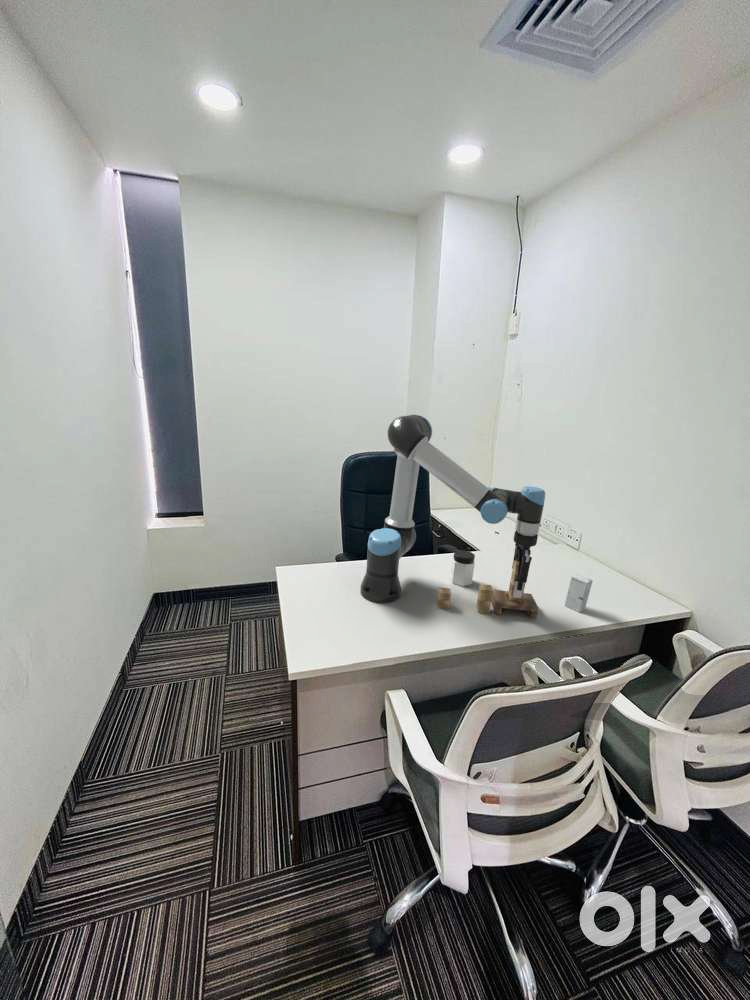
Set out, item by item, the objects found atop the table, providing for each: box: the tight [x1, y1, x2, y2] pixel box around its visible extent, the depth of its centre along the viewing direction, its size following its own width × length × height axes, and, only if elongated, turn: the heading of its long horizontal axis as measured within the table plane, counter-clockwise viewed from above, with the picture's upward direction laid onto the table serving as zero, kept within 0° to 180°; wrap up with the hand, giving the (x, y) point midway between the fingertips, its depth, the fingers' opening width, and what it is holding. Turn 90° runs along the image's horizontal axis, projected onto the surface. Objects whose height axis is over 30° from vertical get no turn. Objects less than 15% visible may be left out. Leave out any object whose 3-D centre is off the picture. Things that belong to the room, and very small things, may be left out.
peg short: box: [436, 587, 452, 610], centre depth 147 cm, size 4×4×6 cm
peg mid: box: [475, 583, 494, 615], centre depth 145 cm, size 4×4×9 cm
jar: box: [449, 549, 476, 587], centre depth 166 cm, size 9×8×12 cm
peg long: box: [508, 560, 526, 603], centre depth 146 cm, size 4×4×16 cm
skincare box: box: [564, 573, 593, 613], centre depth 151 cm, size 6×4×12 cm
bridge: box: [491, 589, 539, 620], centre depth 148 cm, size 14×10×4 cm
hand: (515, 593), depth 147 cm, fingers closed on peg long, 4 cm apart
